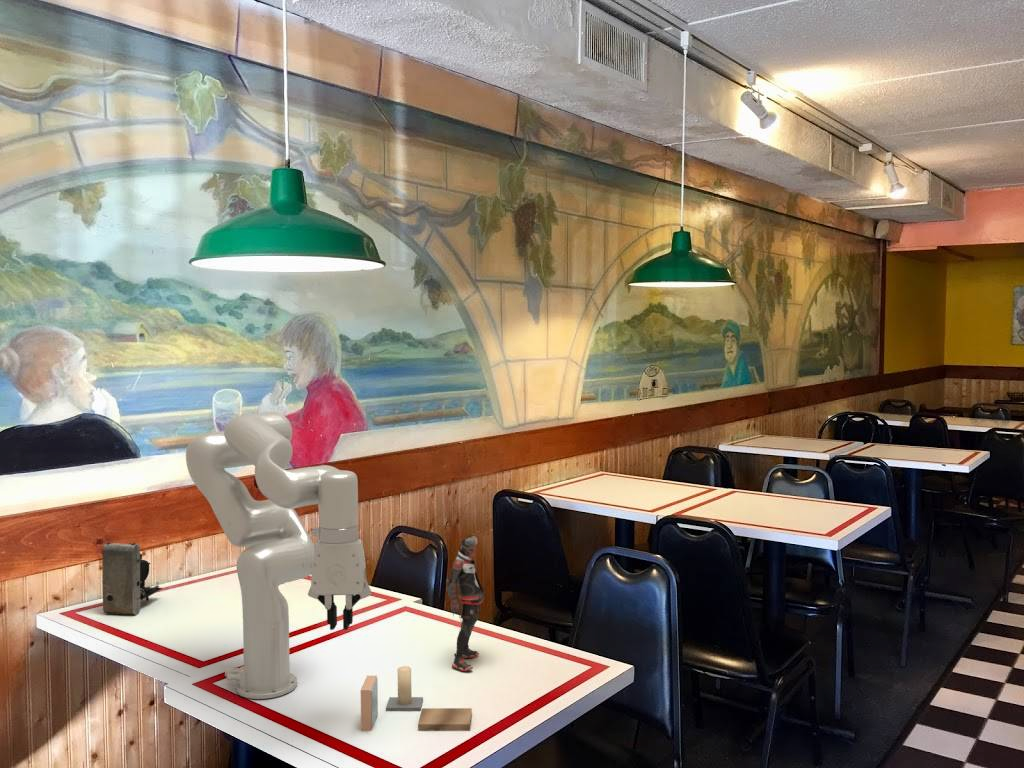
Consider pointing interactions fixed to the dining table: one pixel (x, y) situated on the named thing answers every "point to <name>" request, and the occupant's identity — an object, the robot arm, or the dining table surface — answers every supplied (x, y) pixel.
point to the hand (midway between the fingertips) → (340, 626)
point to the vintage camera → (124, 578)
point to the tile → (369, 703)
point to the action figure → (465, 600)
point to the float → (404, 694)
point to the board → (445, 719)
